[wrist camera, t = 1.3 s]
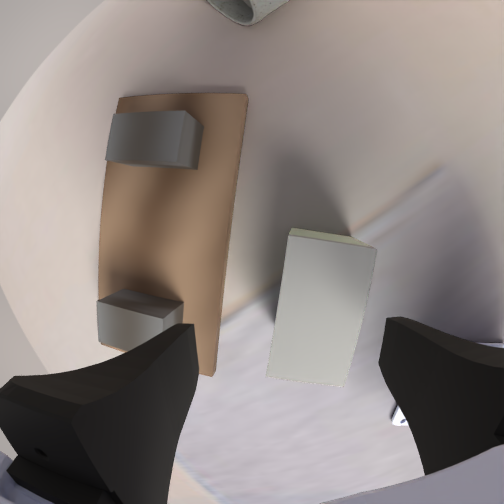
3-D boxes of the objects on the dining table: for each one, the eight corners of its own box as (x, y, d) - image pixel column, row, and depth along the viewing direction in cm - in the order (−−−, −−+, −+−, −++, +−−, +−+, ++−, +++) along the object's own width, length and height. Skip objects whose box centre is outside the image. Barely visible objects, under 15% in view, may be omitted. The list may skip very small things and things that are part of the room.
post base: (248, 99, 19) (234, 71, 14) (215, 370, 22) (197, 402, 17) (125, 101, 20) (93, 83, 16) (107, 339, 23) (76, 360, 19)
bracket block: (351, 236, 19) (377, 249, 12) (332, 335, 20) (343, 386, 13) (291, 227, 20) (288, 235, 13) (276, 327, 21) (265, 376, 14)
